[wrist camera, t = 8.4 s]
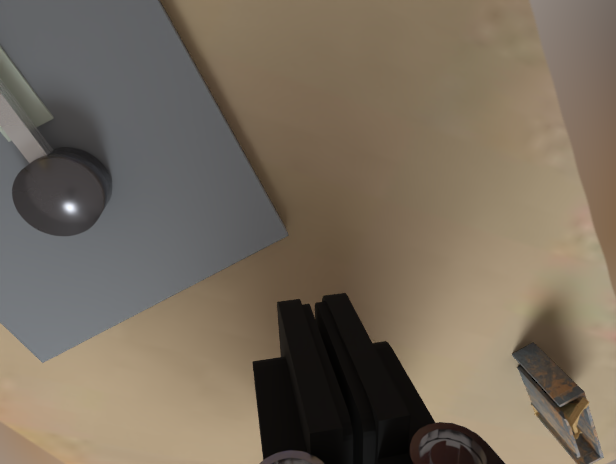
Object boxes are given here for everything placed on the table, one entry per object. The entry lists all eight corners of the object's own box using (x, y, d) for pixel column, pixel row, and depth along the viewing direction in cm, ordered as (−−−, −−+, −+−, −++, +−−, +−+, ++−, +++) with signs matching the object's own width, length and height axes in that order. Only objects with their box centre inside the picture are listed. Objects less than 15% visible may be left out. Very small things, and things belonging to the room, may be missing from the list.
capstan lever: (127, 198, 31) (108, 235, 25) (62, 230, 31) (30, 274, 25) (-16, -8, 25) (-82, -18, 19) (-97, 32, 25) (-186, 33, 19)
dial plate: (285, 227, 36) (289, 237, 34) (48, 350, 36) (41, 365, 35) (121, -68, 26) (115, -75, 24) (-202, 105, 26) (-229, 110, 25)
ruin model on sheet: (505, 353, 48) (571, 425, 39) (530, 339, 48) (601, 408, 39) (530, 414, 53) (592, 489, 44) (552, 402, 53) (620, 475, 44)
